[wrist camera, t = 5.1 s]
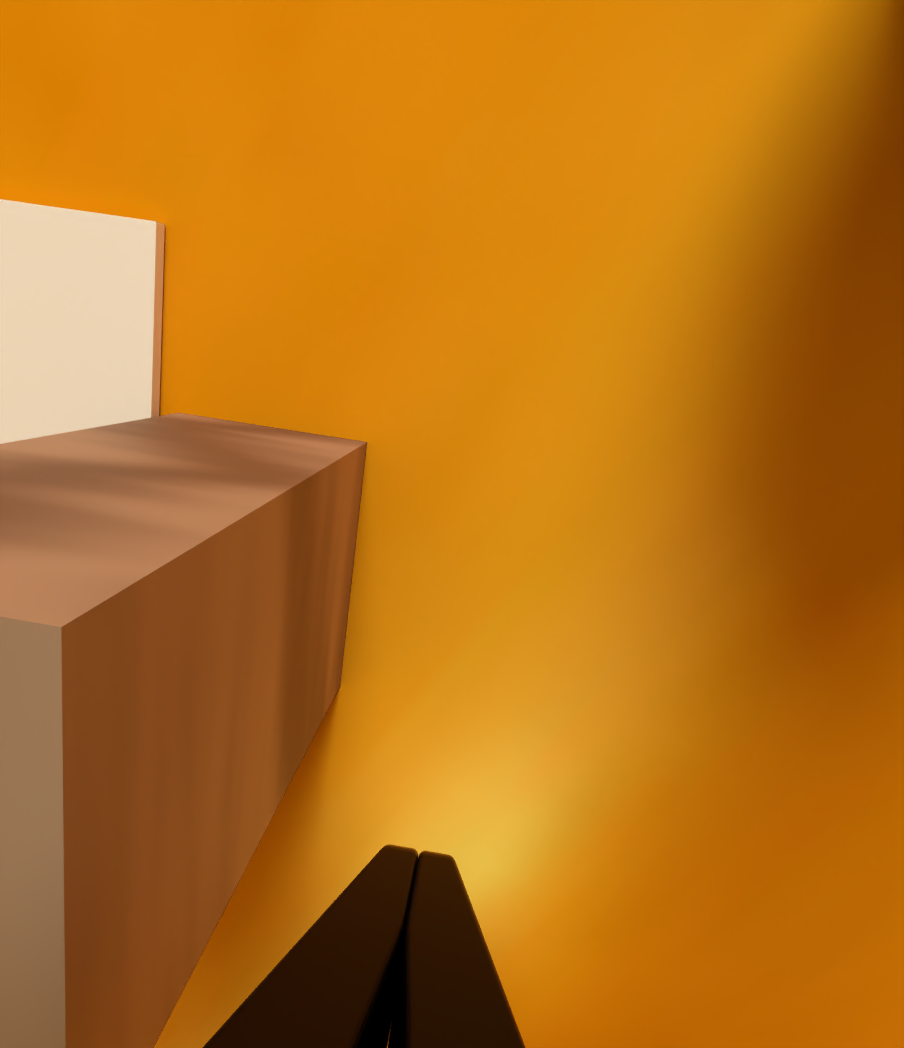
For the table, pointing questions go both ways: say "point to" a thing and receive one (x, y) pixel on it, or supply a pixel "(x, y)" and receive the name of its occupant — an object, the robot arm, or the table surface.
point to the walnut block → (153, 697)
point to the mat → (77, 319)
